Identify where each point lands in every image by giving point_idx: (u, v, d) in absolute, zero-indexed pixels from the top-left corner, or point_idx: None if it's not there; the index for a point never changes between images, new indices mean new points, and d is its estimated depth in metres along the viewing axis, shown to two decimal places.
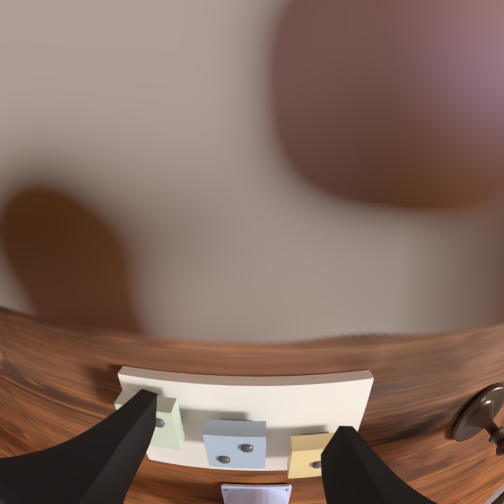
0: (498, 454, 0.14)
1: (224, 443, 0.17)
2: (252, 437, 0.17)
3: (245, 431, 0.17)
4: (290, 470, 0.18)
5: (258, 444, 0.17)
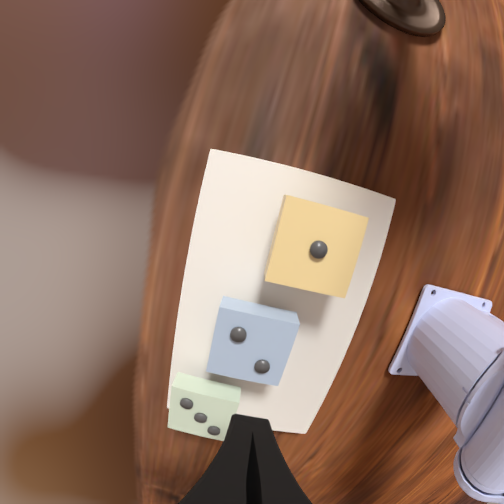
0: None
1: (226, 356, 0.16)
2: (216, 322, 0.15)
3: None
4: (320, 291, 0.15)
5: (234, 319, 0.15)
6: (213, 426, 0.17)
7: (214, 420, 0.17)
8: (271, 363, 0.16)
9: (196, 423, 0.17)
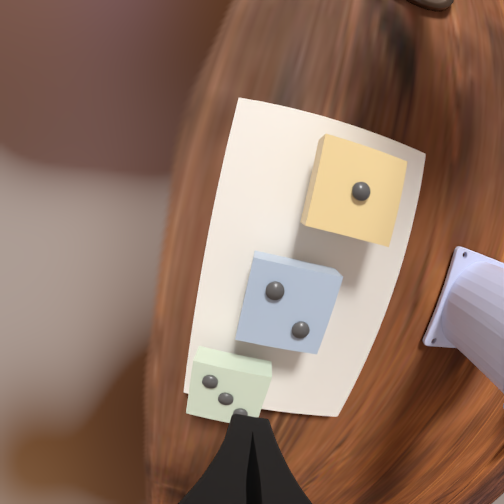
0: None
1: (259, 319, 0.14)
2: (250, 276, 0.14)
3: None
4: (364, 238, 0.13)
5: (270, 272, 0.13)
6: (240, 408, 0.15)
7: (241, 401, 0.15)
8: (311, 325, 0.14)
9: (220, 405, 0.15)
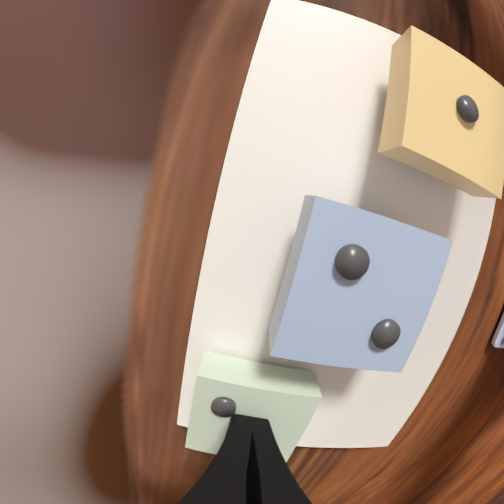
0: None
1: (320, 317, 0.07)
2: (308, 234, 0.07)
3: (300, 249, 0.08)
4: (476, 180, 0.06)
5: (346, 226, 0.07)
6: None
7: None
8: (402, 326, 0.07)
9: None
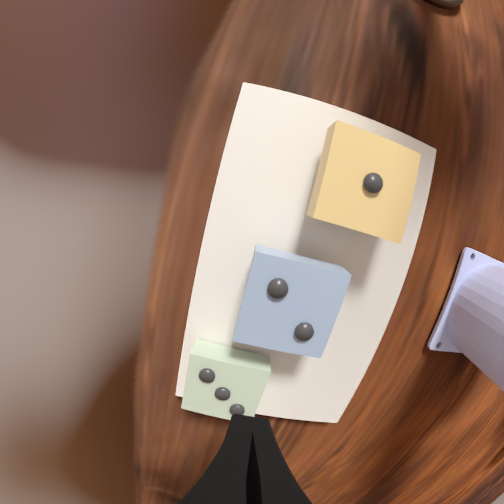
0: None
1: (260, 319, 0.13)
2: (251, 272, 0.12)
3: (249, 279, 0.13)
4: (375, 233, 0.12)
5: (274, 268, 0.12)
6: (237, 404, 0.15)
7: (238, 396, 0.15)
8: (315, 327, 0.13)
9: (216, 401, 0.15)
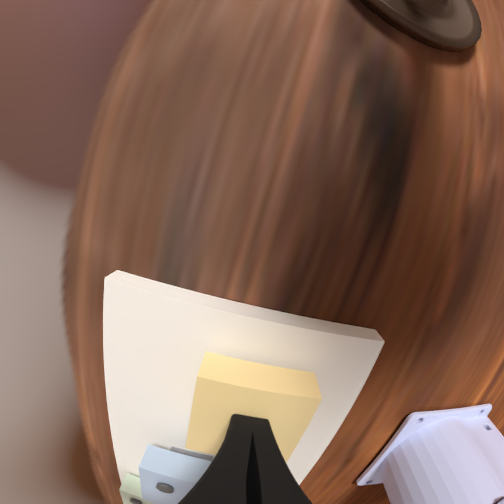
0: None
1: (158, 496, 0.10)
2: (140, 475, 0.10)
3: None
4: None
5: (157, 477, 0.10)
6: None
7: None
8: None
9: None
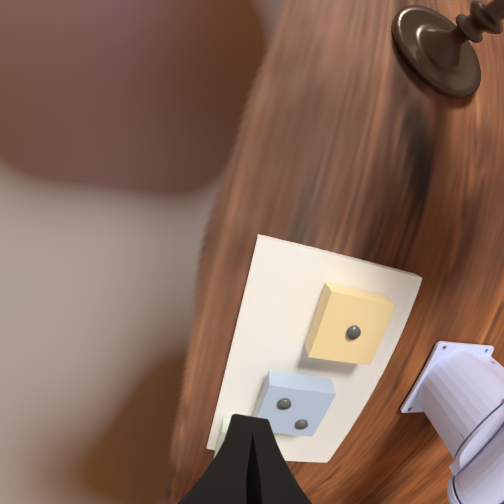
0: (497, 30, 0.07)
1: (272, 419, 0.17)
2: (266, 396, 0.16)
3: (264, 395, 0.17)
4: (351, 361, 0.17)
5: (281, 393, 0.16)
6: None
7: None
8: (309, 421, 0.17)
9: None
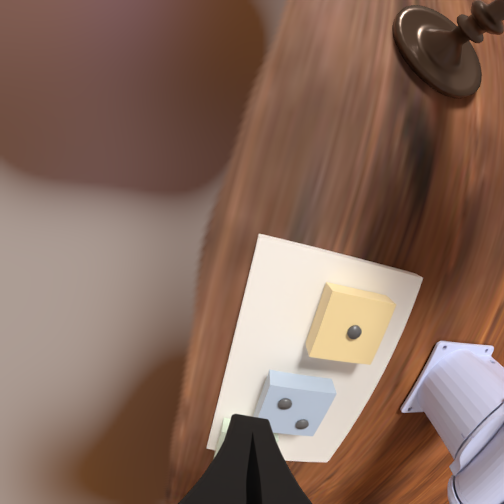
0: (498, 31, 0.07)
1: (272, 418, 0.17)
2: (266, 395, 0.16)
3: (264, 395, 0.17)
4: (352, 361, 0.17)
5: (282, 393, 0.16)
6: None
7: None
8: (309, 421, 0.17)
9: None
